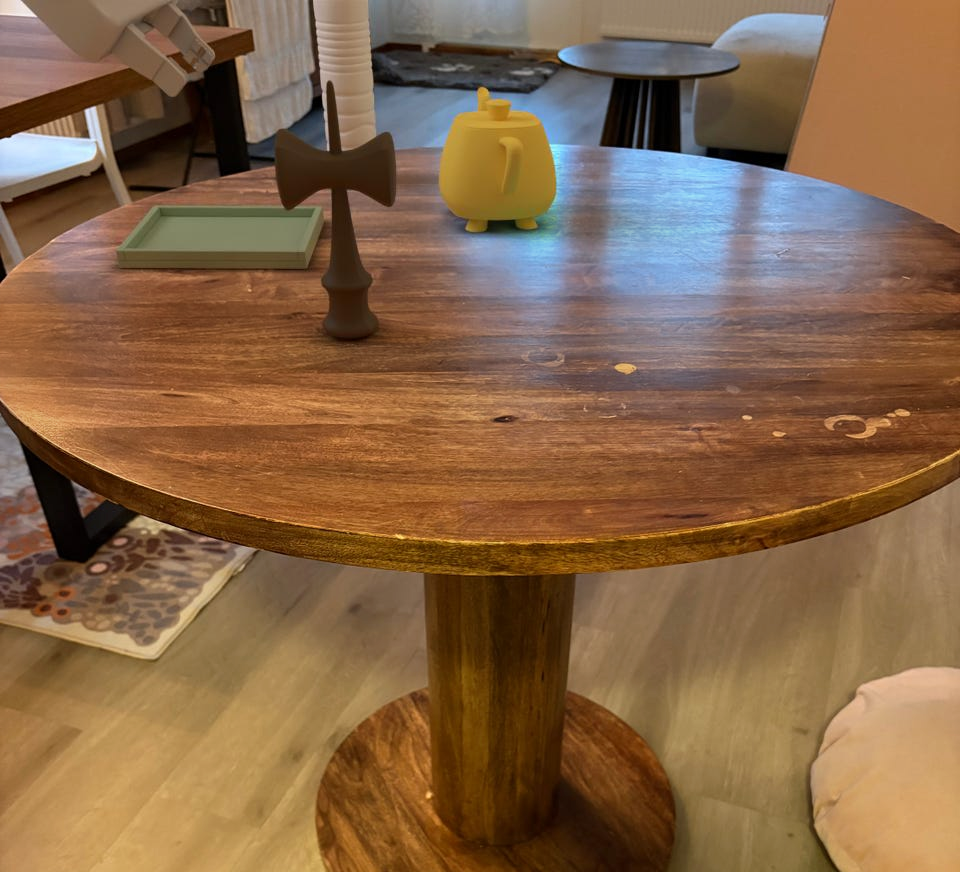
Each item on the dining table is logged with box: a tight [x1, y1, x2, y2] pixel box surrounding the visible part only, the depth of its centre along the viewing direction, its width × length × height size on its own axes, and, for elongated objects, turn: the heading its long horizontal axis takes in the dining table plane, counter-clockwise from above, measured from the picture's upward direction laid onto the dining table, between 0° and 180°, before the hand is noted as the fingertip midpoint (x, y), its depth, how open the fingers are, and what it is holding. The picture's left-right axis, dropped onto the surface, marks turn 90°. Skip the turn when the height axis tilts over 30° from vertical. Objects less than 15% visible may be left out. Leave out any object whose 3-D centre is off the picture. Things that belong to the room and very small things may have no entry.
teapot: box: [438, 86, 558, 233], centre depth 105 cm, size 13×20×12 cm
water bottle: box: [312, 0, 377, 151], centre depth 112 cm, size 9×6×25 cm
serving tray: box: [115, 204, 325, 270], centre depth 101 cm, size 20×16×2 cm
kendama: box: [273, 80, 397, 339], centre depth 77 cm, size 6×10×20 cm, turn 92°
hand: (196, 76), depth 70 cm, fingers open, 8 cm apart
